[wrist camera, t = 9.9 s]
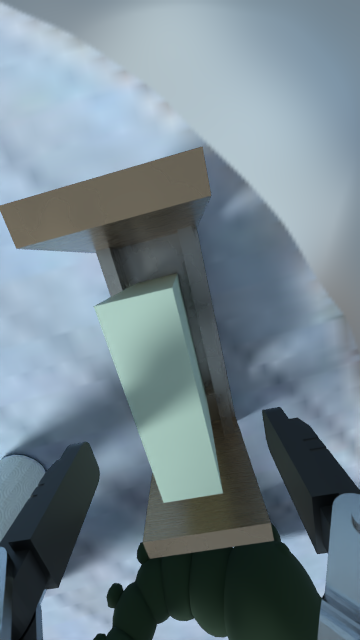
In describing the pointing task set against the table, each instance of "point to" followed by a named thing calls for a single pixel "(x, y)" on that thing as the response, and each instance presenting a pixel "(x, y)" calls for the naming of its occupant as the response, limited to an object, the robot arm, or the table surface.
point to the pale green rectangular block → (163, 385)
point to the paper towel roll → (16, 487)
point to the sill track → (186, 260)
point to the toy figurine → (220, 594)
